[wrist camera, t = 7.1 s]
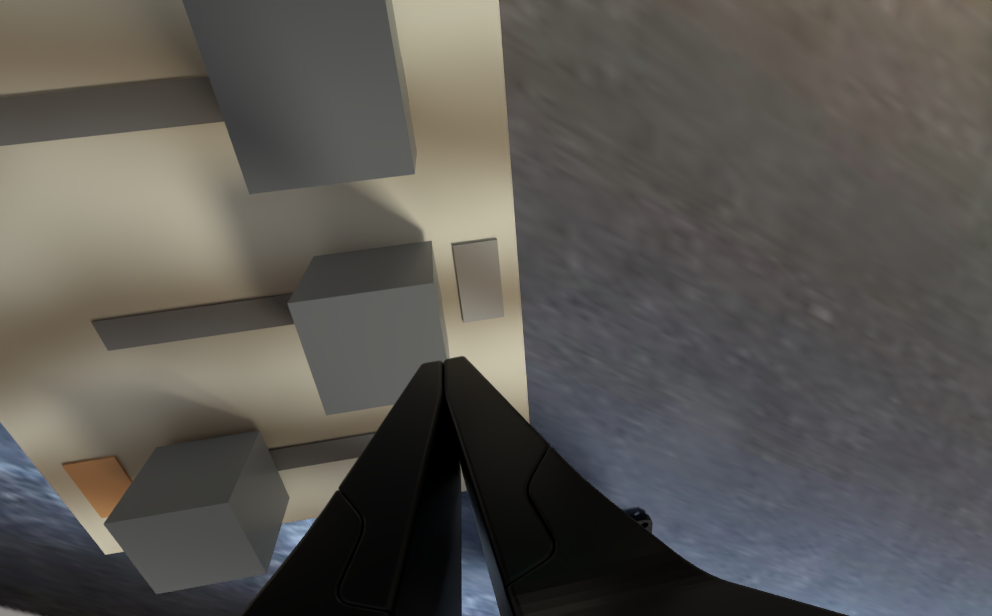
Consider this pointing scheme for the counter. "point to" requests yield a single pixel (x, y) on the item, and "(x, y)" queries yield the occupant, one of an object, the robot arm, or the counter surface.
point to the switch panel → (218, 246)
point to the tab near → (308, 89)
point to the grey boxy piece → (202, 512)
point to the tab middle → (369, 323)
